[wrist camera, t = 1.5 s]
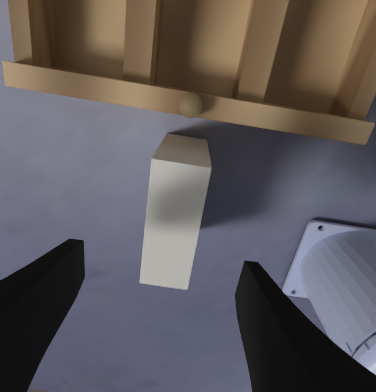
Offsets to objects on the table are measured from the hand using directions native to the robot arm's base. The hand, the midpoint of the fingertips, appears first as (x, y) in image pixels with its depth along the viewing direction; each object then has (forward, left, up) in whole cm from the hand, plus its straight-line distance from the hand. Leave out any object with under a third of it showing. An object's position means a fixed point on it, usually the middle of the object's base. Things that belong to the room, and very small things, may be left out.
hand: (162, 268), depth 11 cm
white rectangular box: (0, 0, -10) cm, 10 cm away
